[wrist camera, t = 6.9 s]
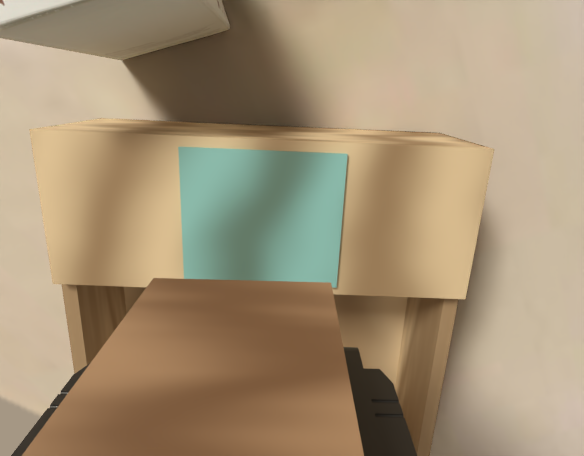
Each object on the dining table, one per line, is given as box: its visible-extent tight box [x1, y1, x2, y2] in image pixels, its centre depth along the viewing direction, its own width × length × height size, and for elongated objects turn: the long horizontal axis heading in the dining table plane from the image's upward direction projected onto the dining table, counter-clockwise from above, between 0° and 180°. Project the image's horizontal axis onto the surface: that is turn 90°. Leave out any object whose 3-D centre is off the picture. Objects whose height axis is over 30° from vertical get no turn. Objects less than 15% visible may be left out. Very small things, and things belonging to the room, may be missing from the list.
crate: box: [29, 118, 494, 456], centre depth 27 cm, size 22×21×8 cm
